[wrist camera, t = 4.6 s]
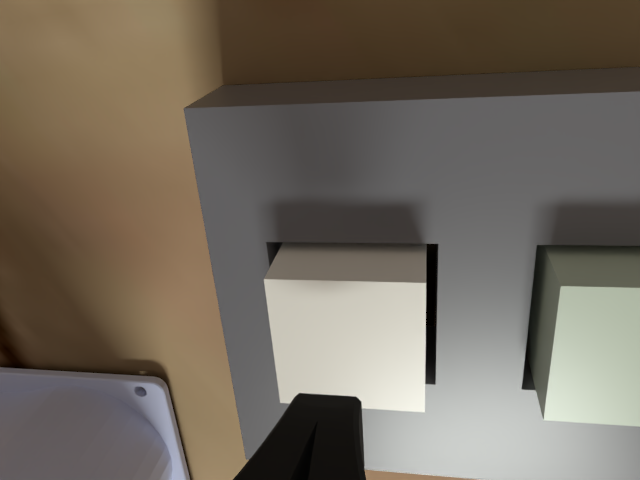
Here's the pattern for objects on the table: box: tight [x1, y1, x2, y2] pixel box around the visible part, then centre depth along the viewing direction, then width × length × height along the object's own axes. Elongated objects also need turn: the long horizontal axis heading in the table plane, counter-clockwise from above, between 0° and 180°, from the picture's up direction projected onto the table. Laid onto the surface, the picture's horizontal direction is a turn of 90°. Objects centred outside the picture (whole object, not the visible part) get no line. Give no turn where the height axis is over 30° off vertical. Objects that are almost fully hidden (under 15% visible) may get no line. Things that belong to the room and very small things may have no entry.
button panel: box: [184, 67, 640, 480], centre depth 16 cm, size 22×12×3 cm, turn 94°
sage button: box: [526, 245, 640, 427], centre depth 14 cm, size 4×4×3 cm
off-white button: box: [264, 242, 427, 412], centre depth 16 cm, size 4×4×3 cm
